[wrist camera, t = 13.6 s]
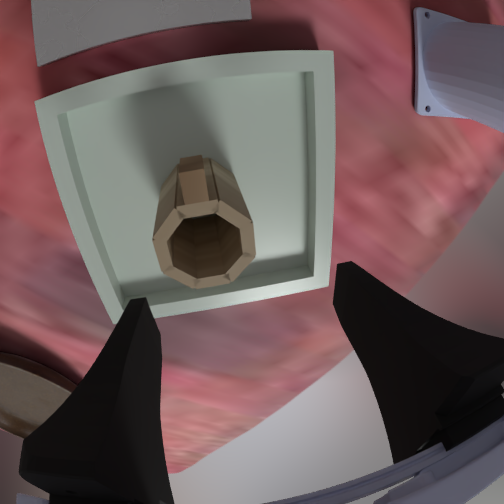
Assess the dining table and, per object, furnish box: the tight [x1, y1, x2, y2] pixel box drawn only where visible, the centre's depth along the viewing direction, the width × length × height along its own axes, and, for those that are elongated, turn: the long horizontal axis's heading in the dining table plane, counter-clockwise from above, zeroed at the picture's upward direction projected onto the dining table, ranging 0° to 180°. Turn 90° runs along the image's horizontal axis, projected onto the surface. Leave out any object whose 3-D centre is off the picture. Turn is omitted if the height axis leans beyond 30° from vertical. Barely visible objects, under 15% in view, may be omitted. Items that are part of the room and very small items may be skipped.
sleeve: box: [152, 155, 256, 289], centre depth 16 cm, size 4×6×6 cm
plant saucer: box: [0, 352, 77, 439], centre depth 27 cm, size 21×21×3 cm
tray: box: [34, 50, 335, 324], centre depth 19 cm, size 16×16×2 cm
